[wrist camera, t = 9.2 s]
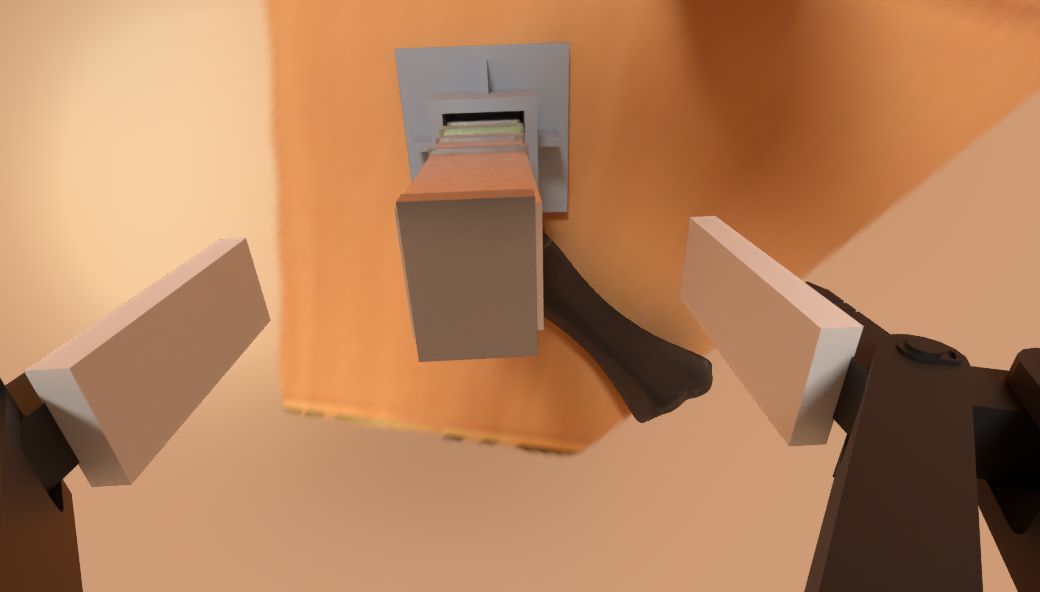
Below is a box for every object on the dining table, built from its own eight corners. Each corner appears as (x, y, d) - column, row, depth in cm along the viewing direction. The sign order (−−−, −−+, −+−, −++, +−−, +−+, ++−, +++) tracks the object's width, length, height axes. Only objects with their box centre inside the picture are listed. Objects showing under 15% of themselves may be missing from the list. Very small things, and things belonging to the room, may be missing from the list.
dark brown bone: (683, 360, 66) (527, 222, 60) (738, 370, 56) (557, 206, 50) (638, 427, 64) (472, 291, 58) (687, 451, 54) (492, 290, 48)
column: (449, 113, 40) (376, 202, 15) (518, 111, 40) (553, 195, 16) (455, 187, 42) (403, 362, 18) (520, 185, 42) (554, 354, 18)
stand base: (397, 48, 46) (369, 46, 36) (567, 43, 47) (587, 38, 36) (418, 214, 53) (399, 252, 43) (565, 207, 54) (582, 243, 43)
